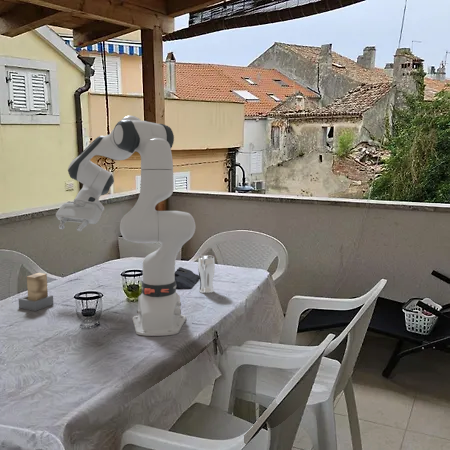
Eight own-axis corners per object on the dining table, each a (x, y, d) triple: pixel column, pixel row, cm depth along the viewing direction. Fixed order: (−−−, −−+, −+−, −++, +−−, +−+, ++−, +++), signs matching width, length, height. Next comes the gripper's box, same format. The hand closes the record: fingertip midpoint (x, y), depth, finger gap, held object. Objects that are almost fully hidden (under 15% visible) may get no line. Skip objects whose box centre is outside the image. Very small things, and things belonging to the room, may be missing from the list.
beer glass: (215, 289, 216) (215, 255, 213) (213, 294, 209) (213, 259, 206) (199, 288, 216) (199, 254, 214) (197, 293, 209) (196, 258, 207)
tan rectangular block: (40, 302, 197) (38, 272, 195) (48, 303, 195) (46, 273, 193) (28, 306, 192) (26, 276, 190) (36, 308, 190) (34, 277, 188)
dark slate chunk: (157, 289, 217) (157, 278, 216) (170, 275, 239) (170, 266, 238) (192, 290, 215) (192, 280, 214) (202, 277, 237) (202, 267, 236)
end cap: (37, 301, 198) (36, 292, 198) (53, 304, 195) (53, 295, 194) (19, 307, 190) (18, 298, 190) (35, 311, 187) (35, 302, 186)
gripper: (62, 196, 212) (45, 222, 205) (100, 199, 204) (85, 226, 197) (69, 205, 217) (54, 231, 210) (107, 208, 208) (93, 235, 201)
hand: (69, 229), depth 203 cm, fingers open, 8 cm apart
